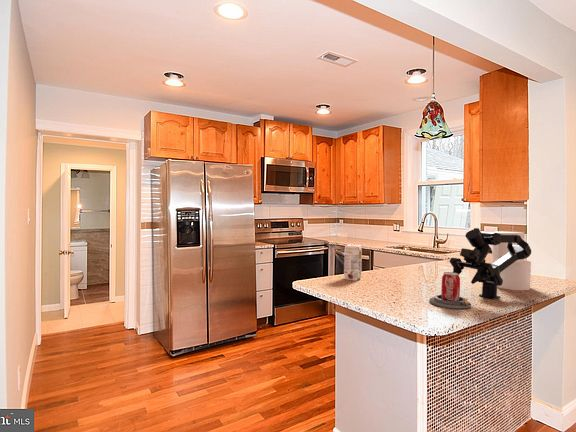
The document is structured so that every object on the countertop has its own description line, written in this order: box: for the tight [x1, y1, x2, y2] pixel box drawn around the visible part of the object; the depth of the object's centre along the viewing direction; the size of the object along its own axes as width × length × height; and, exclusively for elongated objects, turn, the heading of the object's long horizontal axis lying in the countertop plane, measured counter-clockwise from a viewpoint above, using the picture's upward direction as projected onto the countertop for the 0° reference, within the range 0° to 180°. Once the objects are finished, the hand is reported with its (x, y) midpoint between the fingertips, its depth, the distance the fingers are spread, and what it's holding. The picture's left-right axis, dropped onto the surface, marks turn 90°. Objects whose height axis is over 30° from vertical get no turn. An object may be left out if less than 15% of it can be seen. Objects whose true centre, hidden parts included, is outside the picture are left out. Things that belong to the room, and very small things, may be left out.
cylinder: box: [491, 231, 532, 291], centre depth 185 cm, size 17×17×28 cm
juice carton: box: [343, 243, 363, 282], centre depth 197 cm, size 8×9×19 cm
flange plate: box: [428, 293, 472, 310], centre depth 150 cm, size 16×16×4 cm
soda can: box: [440, 271, 461, 301], centre depth 150 cm, size 7×7×12 cm
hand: (462, 281), depth 154 cm, fingers open, 9 cm apart
